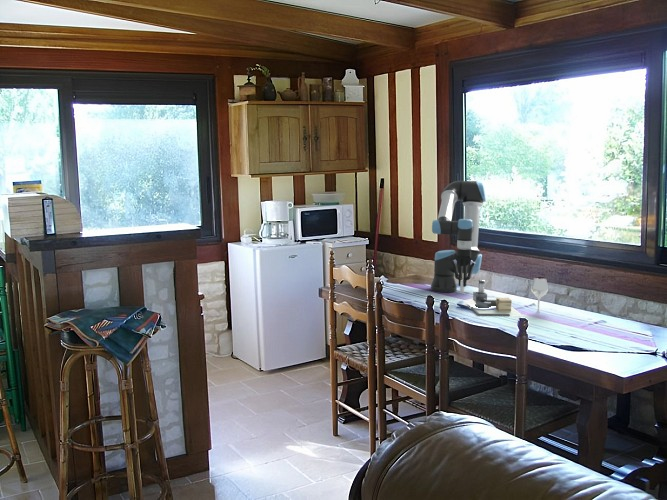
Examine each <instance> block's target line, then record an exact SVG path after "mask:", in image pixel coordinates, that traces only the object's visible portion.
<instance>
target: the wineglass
mask: <svg viewBox="0 0 667 500" xmlns="http://www.w3.org/2000/svg"><path fill="white" fill-rule="evenodd" d="M530 291H531V293H532V294H533V295H534V296H535V297H536V298H537V310H536V313H538V314H539V313H541V311H540V300H541V298H543V297H544V296H545V295H547V293H548V291H549V285H548V281H547V278H546V277H545V276H544V277H543V276H535V277H533V280H532V283H531V286H530Z"/></svg>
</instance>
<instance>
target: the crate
mask: <svg viewBox="0 0 667 500" xmlns="http://www.w3.org/2000/svg"><path fill="white" fill-rule="evenodd" d="M495 300H496V309H497V310H498V311H499V312H511V306H512V299H511V298H509V297H496V299H495Z"/></svg>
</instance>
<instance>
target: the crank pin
mask: <svg viewBox="0 0 667 500" xmlns="http://www.w3.org/2000/svg"><path fill="white" fill-rule="evenodd" d="M485 284H486V280H485V279H478V291H477V292H478V294H484V292H485V287H486V286H485Z"/></svg>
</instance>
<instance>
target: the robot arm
mask: <svg viewBox="0 0 667 500" xmlns="http://www.w3.org/2000/svg"><path fill="white" fill-rule="evenodd" d="M446 185H447V184H446ZM486 199H487V198H486V186H485V182H483V181H477V180H455V181H453V182H451V183H449V184H448V185H447V186H446V187H444V189H443V190H442V191H441V195H440V200H441V202H440V208H439V211H438V216H437V219H434V220H433V221H432V223H431V224H432V225H431V232H432V234H433V235H436V234H437V235H452V236H457V242H456V247H457V248H456V250H454V249H445V250H438V251H437V252H435V254H434V268H433V270H434V271H433V278H432V281H431V284H430V290H431V291H433V292H438V293H454V292H457V289H458V287H459V293H460V294H464V293H465V287H467V281H469V280H470V279H471V277H472V275H478V273H480V270H481V265H482V260H483V254H481V251H480V249H479V248H478V245H479V228H480V225H479V224H480V213H481V212H480V210H481V207H482V206H483V205H484V203H485V202H487V201H486ZM458 201H459V202H460V201H461V202H462V205H463V206H464V217H463V218H459V219H458V220H453V214H454V209H455V204H456V203H457V202H458ZM456 280H458V287H457V283H456Z"/></svg>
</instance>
